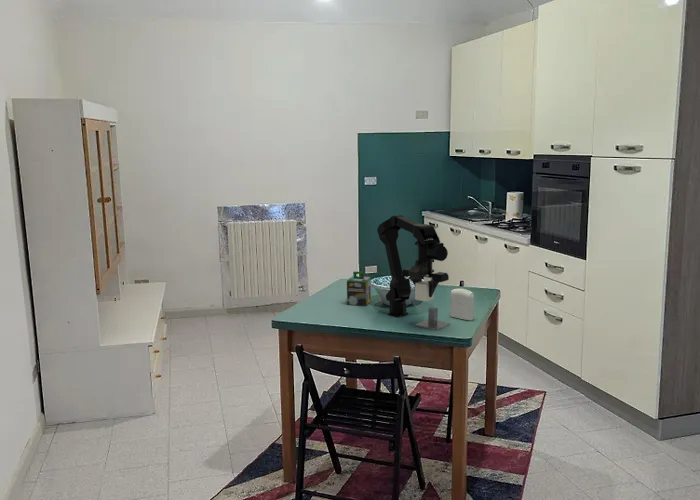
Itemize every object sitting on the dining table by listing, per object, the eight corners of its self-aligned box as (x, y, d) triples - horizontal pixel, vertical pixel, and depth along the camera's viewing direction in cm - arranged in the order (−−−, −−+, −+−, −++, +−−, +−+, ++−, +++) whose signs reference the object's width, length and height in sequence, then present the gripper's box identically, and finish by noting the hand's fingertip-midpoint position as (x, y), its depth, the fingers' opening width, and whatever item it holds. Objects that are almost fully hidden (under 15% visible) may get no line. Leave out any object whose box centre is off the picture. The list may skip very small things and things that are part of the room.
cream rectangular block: (415, 299, 252) (415, 283, 251) (422, 296, 256) (422, 280, 255) (426, 301, 249) (426, 284, 247) (433, 298, 252) (433, 282, 251)
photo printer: (448, 316, 265) (449, 287, 263) (454, 314, 268) (455, 286, 266) (469, 321, 258) (470, 292, 256) (475, 319, 261) (476, 290, 259)
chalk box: (371, 301, 290) (371, 269, 288) (366, 306, 282) (366, 273, 279) (351, 300, 293) (351, 268, 290) (346, 305, 284) (346, 272, 281)
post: (415, 325, 253) (415, 308, 252) (428, 320, 261) (429, 303, 259) (436, 330, 247) (437, 313, 245) (450, 324, 254) (450, 307, 253)
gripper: (393, 257, 250) (393, 296, 252) (433, 263, 237) (433, 303, 240) (410, 253, 258) (410, 291, 260) (449, 258, 246) (449, 298, 248)
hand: (424, 296), depth 252 cm, fingers closed on cream rectangular block, 5 cm apart
